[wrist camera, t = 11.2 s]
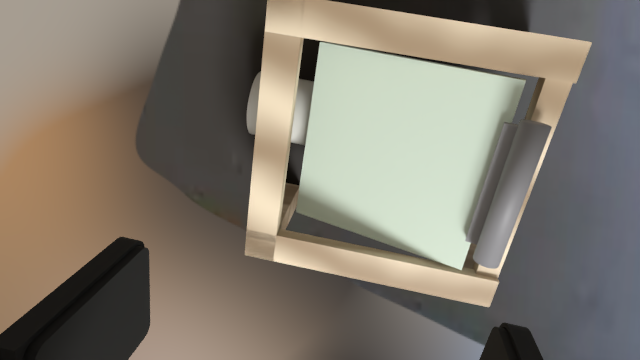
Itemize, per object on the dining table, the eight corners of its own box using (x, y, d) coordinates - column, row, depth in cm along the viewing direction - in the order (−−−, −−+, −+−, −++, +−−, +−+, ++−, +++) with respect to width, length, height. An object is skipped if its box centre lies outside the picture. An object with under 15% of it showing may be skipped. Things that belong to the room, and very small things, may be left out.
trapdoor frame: (301, 0, 32) (268, -9, 23) (530, 36, 31) (592, 42, 22) (277, 200, 39) (244, 254, 30) (463, 237, 38) (489, 307, 28)
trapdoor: (325, 41, 28) (305, 41, 25) (562, 86, 23) (569, 92, 20) (301, 207, 33) (282, 222, 30) (492, 273, 28) (490, 298, 25)
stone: (325, 82, 35) (269, 71, 35) (317, 83, 30) (252, 70, 30) (314, 141, 36) (260, 129, 37) (305, 151, 31) (243, 138, 32)
